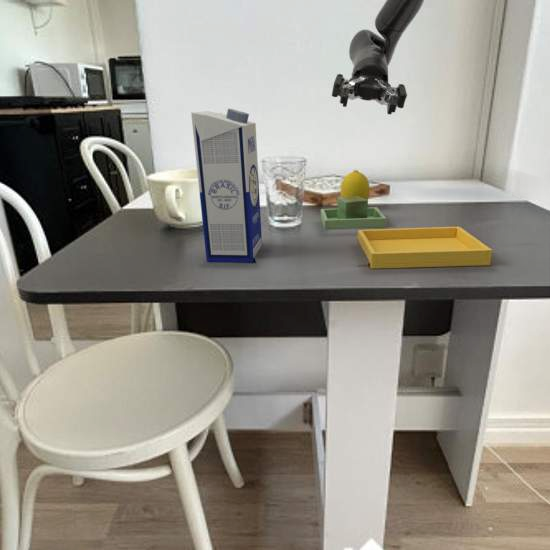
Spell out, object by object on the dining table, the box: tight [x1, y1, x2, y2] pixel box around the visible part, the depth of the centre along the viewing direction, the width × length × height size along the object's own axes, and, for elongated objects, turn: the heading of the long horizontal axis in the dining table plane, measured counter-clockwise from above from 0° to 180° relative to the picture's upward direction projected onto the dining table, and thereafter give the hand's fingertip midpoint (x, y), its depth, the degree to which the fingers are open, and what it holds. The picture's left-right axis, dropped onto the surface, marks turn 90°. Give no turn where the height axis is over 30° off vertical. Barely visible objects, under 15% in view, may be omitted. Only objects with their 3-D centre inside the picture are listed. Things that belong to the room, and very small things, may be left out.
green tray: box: [320, 206, 387, 230], centre depth 76 cm, size 10×8×2 cm
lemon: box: [340, 169, 371, 201], centre depth 84 cm, size 6×6×8 cm
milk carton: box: [190, 108, 263, 263], centre depth 61 cm, size 7×7×20 cm
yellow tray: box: [357, 226, 493, 270], centre depth 61 cm, size 15×11×2 cm
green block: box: [336, 196, 369, 219], centre depth 76 cm, size 4×4×4 cm
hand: (368, 105), depth 82 cm, fingers open, 8 cm apart
